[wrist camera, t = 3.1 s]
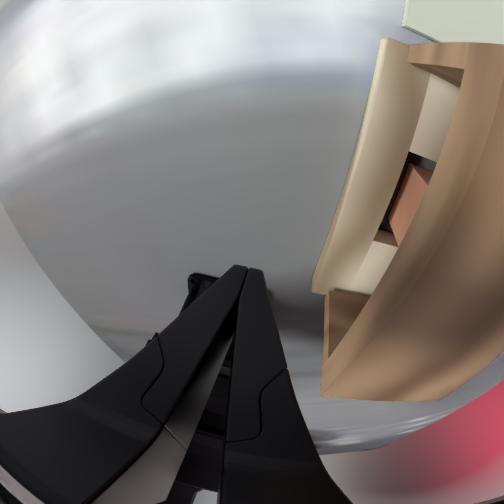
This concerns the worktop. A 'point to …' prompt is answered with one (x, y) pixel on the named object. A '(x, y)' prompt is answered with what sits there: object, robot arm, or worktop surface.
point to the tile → (456, 20)
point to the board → (382, 168)
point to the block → (408, 200)
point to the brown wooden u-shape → (435, 257)
